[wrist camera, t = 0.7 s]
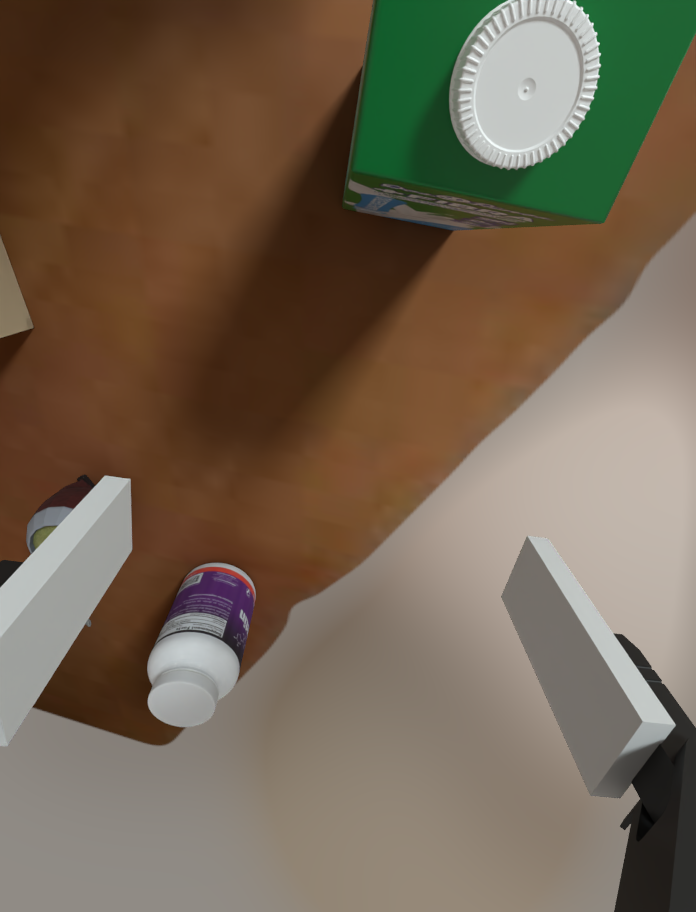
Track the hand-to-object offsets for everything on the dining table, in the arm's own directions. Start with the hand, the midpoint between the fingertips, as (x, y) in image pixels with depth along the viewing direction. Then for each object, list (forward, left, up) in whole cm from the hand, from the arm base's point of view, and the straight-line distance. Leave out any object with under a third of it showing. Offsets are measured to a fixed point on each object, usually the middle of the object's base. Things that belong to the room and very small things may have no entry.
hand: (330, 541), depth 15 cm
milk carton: (-14, +7, -28) cm, 32 cm away
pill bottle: (+25, -15, -28) cm, 40 cm away
